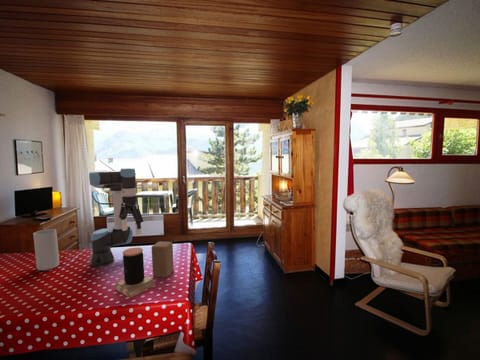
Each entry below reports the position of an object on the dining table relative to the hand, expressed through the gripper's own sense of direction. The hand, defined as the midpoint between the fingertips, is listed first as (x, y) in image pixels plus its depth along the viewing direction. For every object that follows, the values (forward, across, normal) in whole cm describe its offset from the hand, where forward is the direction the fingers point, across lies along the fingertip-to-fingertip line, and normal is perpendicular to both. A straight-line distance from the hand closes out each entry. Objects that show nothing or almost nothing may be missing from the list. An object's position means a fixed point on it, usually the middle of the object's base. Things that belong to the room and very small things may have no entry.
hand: (131, 232), depth 143 cm
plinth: (+33, +1, 0) cm, 33 cm away
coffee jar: (+29, +1, 0) cm, 29 cm away
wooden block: (+33, +1, +20) cm, 38 cm away
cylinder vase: (+33, -75, -18) cm, 84 cm away
